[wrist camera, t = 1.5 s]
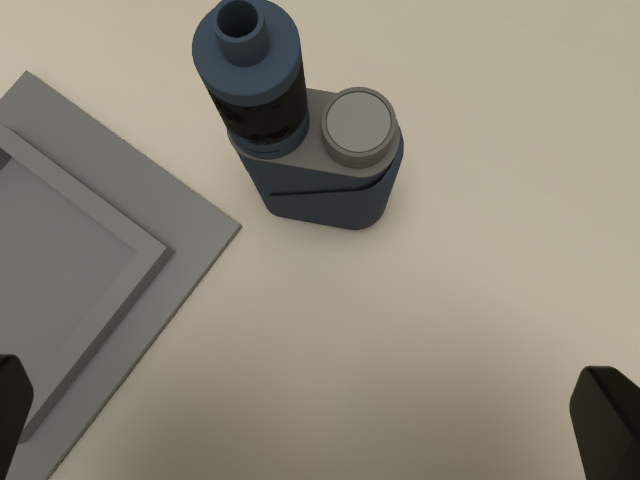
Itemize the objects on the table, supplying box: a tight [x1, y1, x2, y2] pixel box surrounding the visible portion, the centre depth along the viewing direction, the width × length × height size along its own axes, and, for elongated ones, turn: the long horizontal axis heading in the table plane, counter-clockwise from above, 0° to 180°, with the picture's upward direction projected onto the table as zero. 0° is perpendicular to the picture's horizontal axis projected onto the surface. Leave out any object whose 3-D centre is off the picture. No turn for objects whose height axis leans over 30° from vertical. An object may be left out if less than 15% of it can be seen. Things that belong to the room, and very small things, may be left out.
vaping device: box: [192, 0, 404, 230], centre depth 16 cm, size 3×5×12 cm, turn 79°
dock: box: [0, 70, 242, 480], centre depth 21 cm, size 14×12×2 cm
